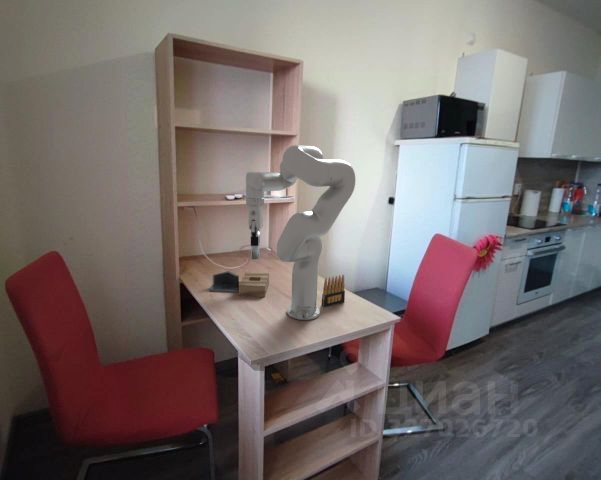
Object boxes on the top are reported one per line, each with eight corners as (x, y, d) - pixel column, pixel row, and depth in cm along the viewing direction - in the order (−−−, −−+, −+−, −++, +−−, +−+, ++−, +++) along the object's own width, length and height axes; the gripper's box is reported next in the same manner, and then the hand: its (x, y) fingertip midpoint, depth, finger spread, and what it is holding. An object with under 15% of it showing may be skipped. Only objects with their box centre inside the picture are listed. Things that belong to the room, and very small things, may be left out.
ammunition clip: (341, 300, 149) (343, 273, 146) (344, 302, 148) (346, 274, 145) (321, 305, 143) (322, 277, 141) (324, 307, 142) (325, 279, 139)
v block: (209, 291, 154) (209, 278, 153) (215, 282, 164) (215, 270, 163) (237, 292, 154) (237, 279, 152) (241, 283, 164) (241, 271, 163)
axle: (258, 259, 152) (258, 232, 149) (250, 259, 152) (250, 231, 150) (260, 257, 156) (259, 230, 153) (251, 256, 156) (251, 230, 153)
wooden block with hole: (264, 297, 150) (265, 285, 149) (239, 296, 150) (238, 284, 149) (269, 283, 165) (269, 273, 164) (245, 282, 166) (245, 272, 164)
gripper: (261, 204, 140) (261, 249, 144) (266, 199, 156) (266, 240, 161) (242, 204, 140) (243, 249, 145) (249, 199, 156) (249, 239, 161)
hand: (255, 244), depth 153 cm, fingers closed on axle, 3 cm apart
